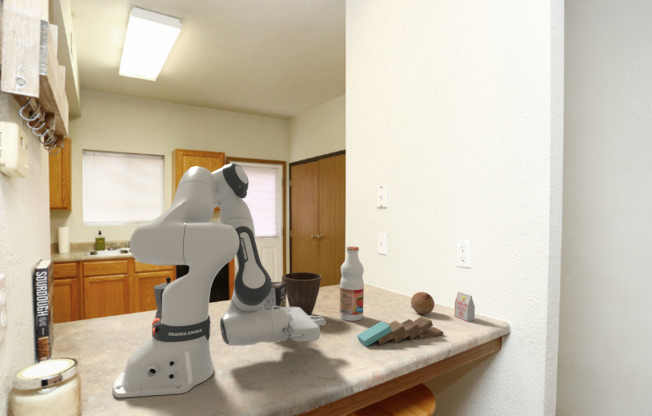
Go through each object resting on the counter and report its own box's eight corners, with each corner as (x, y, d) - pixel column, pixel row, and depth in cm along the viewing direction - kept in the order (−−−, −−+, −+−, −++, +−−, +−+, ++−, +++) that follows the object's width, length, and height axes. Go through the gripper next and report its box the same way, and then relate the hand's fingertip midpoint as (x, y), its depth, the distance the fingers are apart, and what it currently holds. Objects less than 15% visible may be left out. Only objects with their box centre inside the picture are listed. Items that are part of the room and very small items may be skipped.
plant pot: (328, 316, 134) (329, 276, 134) (299, 324, 123) (300, 281, 123) (304, 307, 144) (304, 270, 144) (275, 315, 134) (276, 275, 134)
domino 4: (419, 335, 111) (443, 331, 115) (410, 330, 116) (433, 326, 120) (419, 341, 111) (443, 337, 115) (410, 335, 116) (433, 332, 120)
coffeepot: (157, 323, 122) (158, 274, 122) (185, 321, 124) (186, 273, 124) (145, 339, 107) (146, 283, 107) (177, 337, 109) (178, 282, 109)
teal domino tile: (364, 341, 104) (390, 325, 107) (357, 335, 109) (382, 320, 112) (366, 346, 104) (391, 331, 108) (358, 340, 109) (383, 326, 112)
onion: (430, 323, 137) (438, 304, 133) (407, 315, 138) (415, 296, 134) (429, 308, 145) (437, 290, 141) (408, 301, 147) (415, 283, 143)
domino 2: (393, 337, 108) (418, 323, 111) (385, 332, 112) (409, 319, 116) (395, 343, 108) (419, 329, 111) (387, 337, 112) (410, 324, 116)
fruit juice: (340, 313, 138) (341, 245, 138) (362, 314, 137) (364, 246, 137) (338, 320, 128) (340, 248, 128) (363, 322, 127) (364, 248, 128)
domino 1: (378, 339, 106) (403, 325, 109) (370, 334, 110) (395, 320, 114) (380, 345, 106) (405, 330, 109) (372, 339, 111) (397, 325, 114)
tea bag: (461, 315, 138) (461, 291, 138) (474, 320, 131) (474, 295, 131) (454, 316, 136) (455, 292, 136) (467, 322, 130) (467, 296, 130)
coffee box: (277, 335, 112) (278, 287, 112) (259, 333, 114) (260, 286, 114) (286, 326, 121) (287, 281, 121) (269, 324, 123) (270, 280, 123)
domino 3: (409, 334, 110) (431, 320, 114) (400, 329, 115) (421, 316, 119) (411, 339, 110) (433, 325, 114) (401, 335, 115) (423, 321, 119)
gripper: (288, 326, 87) (337, 320, 92) (272, 304, 106) (313, 301, 111) (287, 350, 87) (336, 343, 92) (271, 324, 106) (313, 320, 111)
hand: (323, 320), depth 102 cm, fingers closed
